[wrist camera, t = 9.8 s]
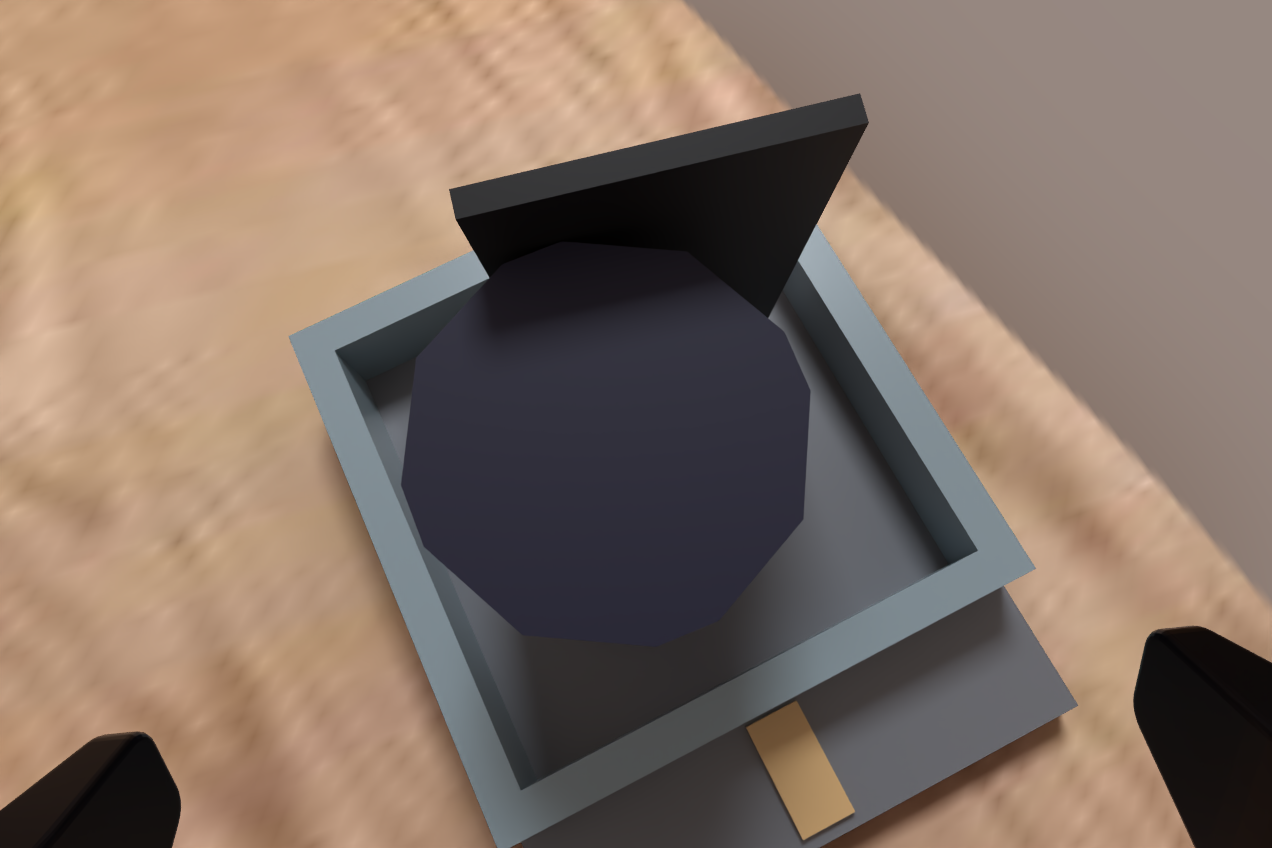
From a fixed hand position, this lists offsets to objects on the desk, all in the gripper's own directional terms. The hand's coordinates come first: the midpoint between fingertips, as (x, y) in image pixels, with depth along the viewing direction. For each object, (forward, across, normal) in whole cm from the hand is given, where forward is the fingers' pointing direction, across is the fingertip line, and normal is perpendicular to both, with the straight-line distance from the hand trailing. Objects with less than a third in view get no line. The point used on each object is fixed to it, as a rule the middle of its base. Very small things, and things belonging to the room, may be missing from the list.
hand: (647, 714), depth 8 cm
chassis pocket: (+11, -1, +6) cm, 13 cm away
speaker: (+12, 0, +5) cm, 12 cm away
